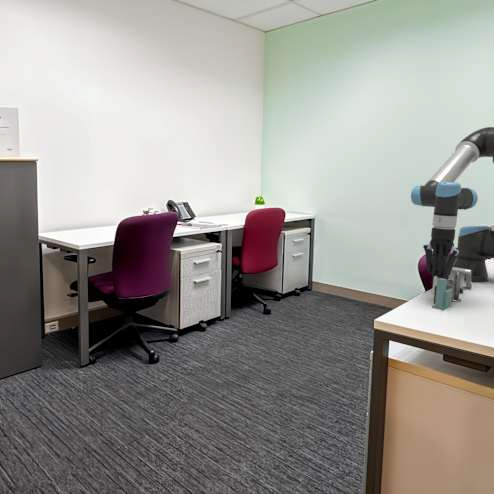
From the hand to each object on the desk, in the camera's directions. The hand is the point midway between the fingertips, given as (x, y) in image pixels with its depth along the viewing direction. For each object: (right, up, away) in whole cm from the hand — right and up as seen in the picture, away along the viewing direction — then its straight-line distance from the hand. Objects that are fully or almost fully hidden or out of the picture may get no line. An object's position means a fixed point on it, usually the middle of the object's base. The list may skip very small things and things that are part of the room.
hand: (435, 294), depth 166 cm
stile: (0, -4, -5) cm, 7 cm away
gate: (+2, -3, -1) cm, 4 cm away
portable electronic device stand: (+18, 0, +24) cm, 30 cm away
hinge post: (+8, -3, +4) cm, 10 cm away
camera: (+13, -1, +19) cm, 23 cm away
